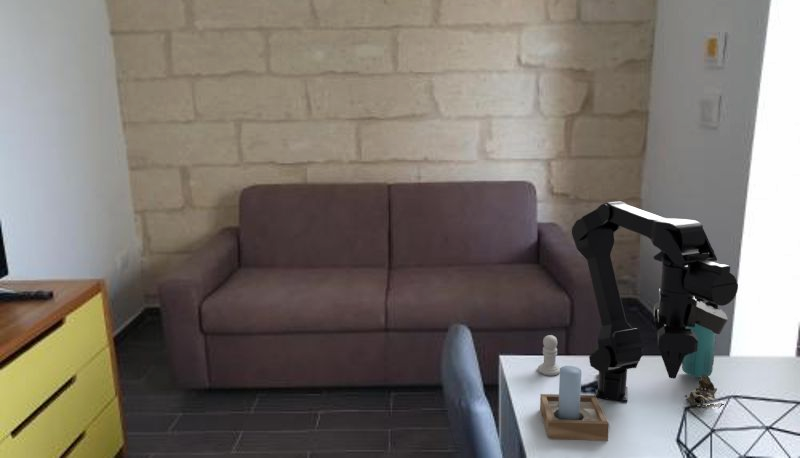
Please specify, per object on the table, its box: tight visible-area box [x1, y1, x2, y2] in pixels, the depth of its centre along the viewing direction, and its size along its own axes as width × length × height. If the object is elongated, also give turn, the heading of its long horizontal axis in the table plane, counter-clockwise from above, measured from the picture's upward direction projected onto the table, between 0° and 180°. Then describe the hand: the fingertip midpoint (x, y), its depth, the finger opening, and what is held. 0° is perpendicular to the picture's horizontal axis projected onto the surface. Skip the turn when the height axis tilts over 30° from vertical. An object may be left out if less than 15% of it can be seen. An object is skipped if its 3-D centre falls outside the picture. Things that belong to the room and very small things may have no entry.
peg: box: [558, 365, 583, 420], centre depth 117 cm, size 4×4×12 cm
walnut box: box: [539, 393, 610, 442], centre depth 119 cm, size 11×11×4 cm
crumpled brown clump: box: [683, 375, 724, 411], centre depth 125 cm, size 12×6×11 cm
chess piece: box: [537, 334, 561, 377], centre depth 141 cm, size 5×5×9 cm
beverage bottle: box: [681, 297, 716, 378], centre depth 136 cm, size 6×7×20 cm
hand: (670, 367), depth 114 cm, fingers open, 9 cm apart
